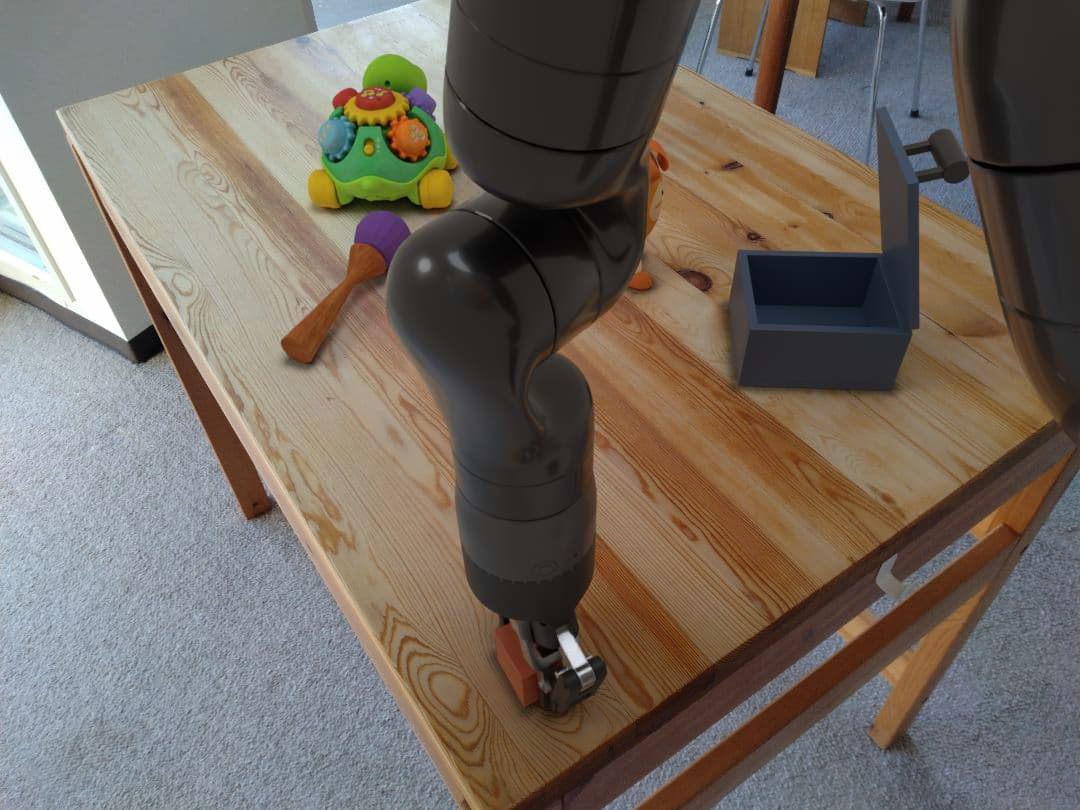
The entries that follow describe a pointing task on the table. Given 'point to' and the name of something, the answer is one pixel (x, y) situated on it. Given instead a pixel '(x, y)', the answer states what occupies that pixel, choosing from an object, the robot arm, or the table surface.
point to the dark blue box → (816, 320)
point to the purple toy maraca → (349, 280)
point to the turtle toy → (384, 142)
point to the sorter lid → (909, 202)
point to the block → (517, 665)
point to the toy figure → (652, 207)
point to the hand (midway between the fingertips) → (535, 666)
